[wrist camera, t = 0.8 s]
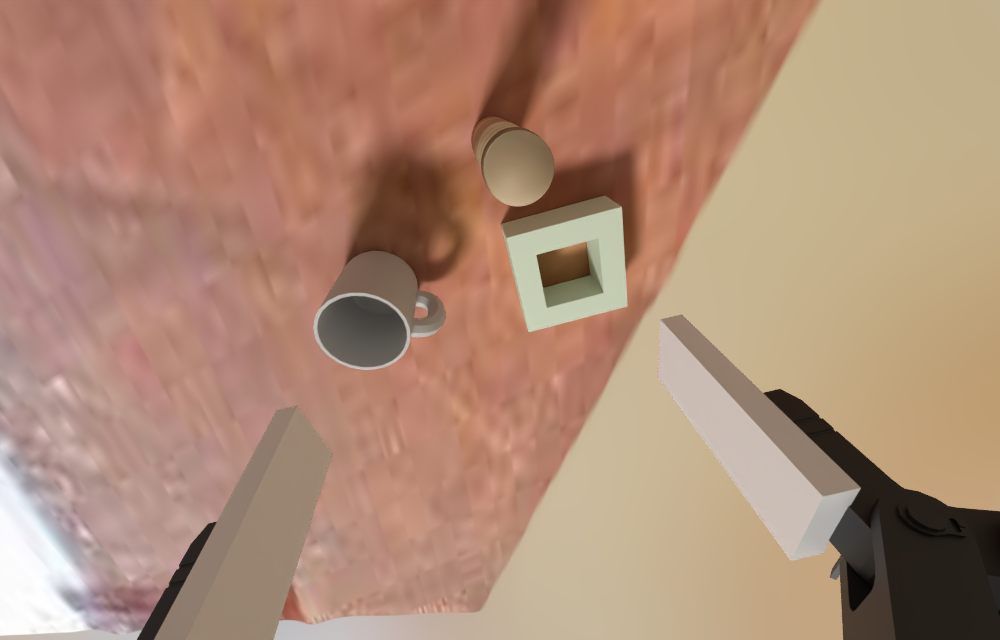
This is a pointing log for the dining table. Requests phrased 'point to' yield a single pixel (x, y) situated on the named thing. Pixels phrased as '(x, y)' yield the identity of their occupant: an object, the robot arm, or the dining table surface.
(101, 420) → the dining table surface
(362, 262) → the cup
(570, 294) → the square block with hole
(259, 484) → the robot arm
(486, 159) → the striped wooden dowel
